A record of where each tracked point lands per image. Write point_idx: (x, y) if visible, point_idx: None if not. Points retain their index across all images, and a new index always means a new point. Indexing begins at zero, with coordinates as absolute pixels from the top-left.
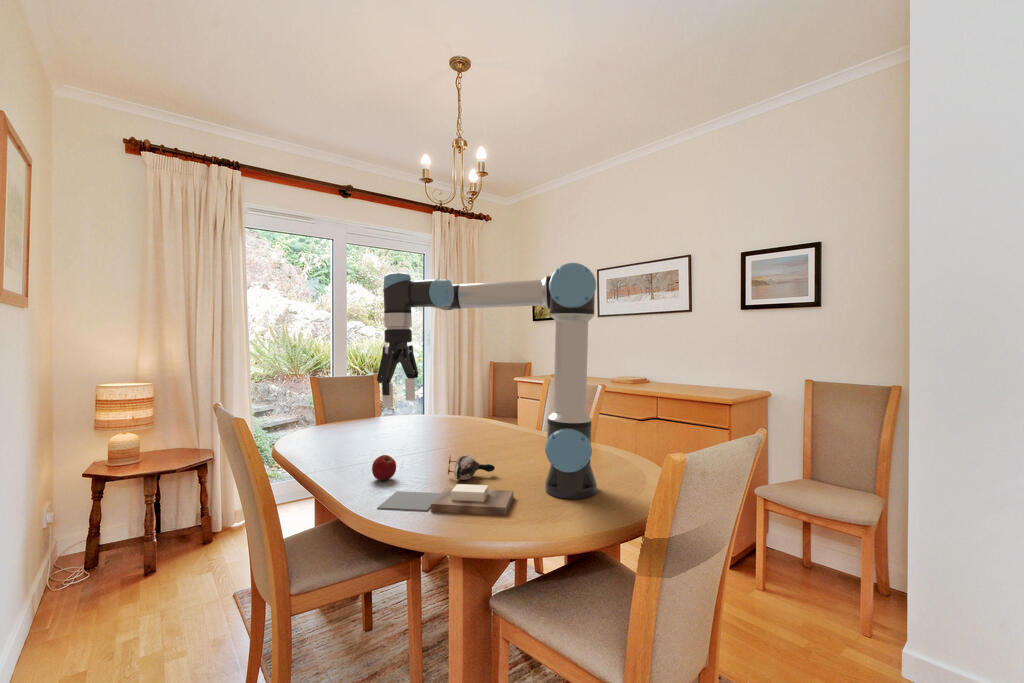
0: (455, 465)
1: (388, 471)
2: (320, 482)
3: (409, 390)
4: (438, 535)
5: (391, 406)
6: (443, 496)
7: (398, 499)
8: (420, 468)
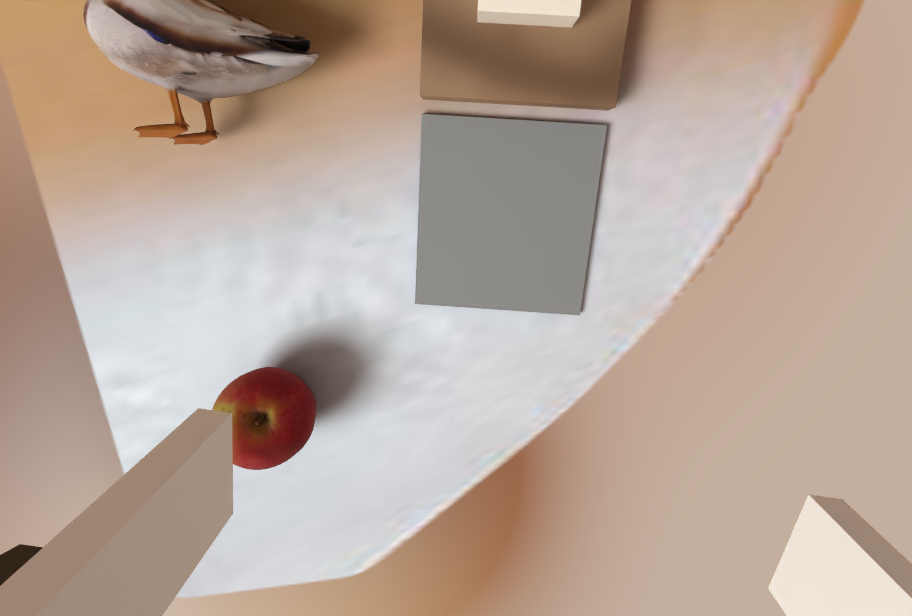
0: (234, 78)
1: (302, 386)
2: (342, 576)
3: (145, 573)
4: (832, 15)
5: (852, 509)
6: (528, 75)
7: (501, 268)
8: (112, 303)
